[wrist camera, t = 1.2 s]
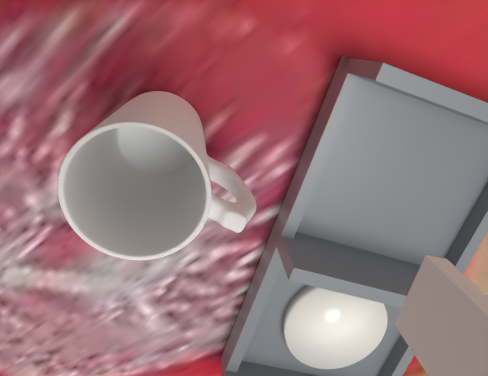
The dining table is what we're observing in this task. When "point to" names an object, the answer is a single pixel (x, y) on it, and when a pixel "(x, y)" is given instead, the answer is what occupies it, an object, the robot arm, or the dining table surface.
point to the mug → (148, 181)
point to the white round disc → (332, 327)
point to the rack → (368, 211)
